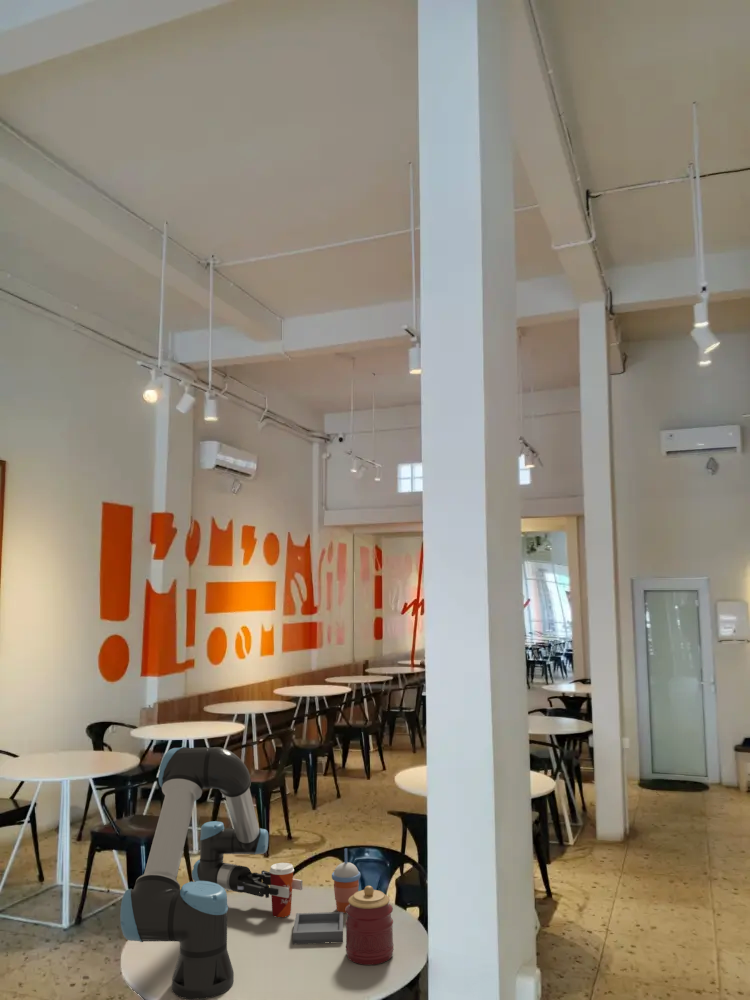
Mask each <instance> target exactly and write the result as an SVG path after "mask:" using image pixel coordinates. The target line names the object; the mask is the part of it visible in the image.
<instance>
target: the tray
mask: <svg viewBox="0 0 750 1000" xmlns="http://www.w3.org/2000/svg"><path fill="white" fill-rule="evenodd" d="M292 931H293V932H292V945H309V944H308V943H312V944H313V943H316V944H326V943H325V942H329V943H328V944H332V943H331V942H343V943H344V913H343V912H338V911H328V912H327V911H326V912H297V913H295V918H294V924H293V930H292ZM312 944H311V945H312ZM313 945H314V944H313Z"/></svg>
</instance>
